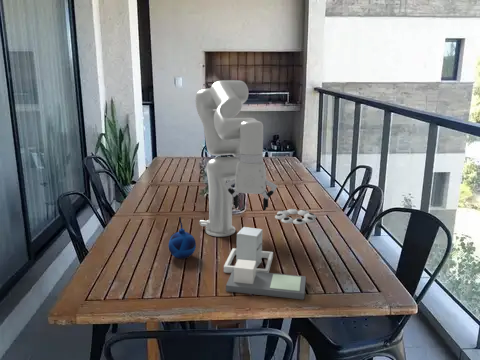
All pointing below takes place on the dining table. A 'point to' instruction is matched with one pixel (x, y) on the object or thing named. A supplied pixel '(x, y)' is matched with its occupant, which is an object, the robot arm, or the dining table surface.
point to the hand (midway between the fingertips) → (250, 208)
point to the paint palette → (301, 212)
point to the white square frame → (264, 255)
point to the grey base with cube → (264, 282)
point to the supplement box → (249, 245)
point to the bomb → (182, 244)
